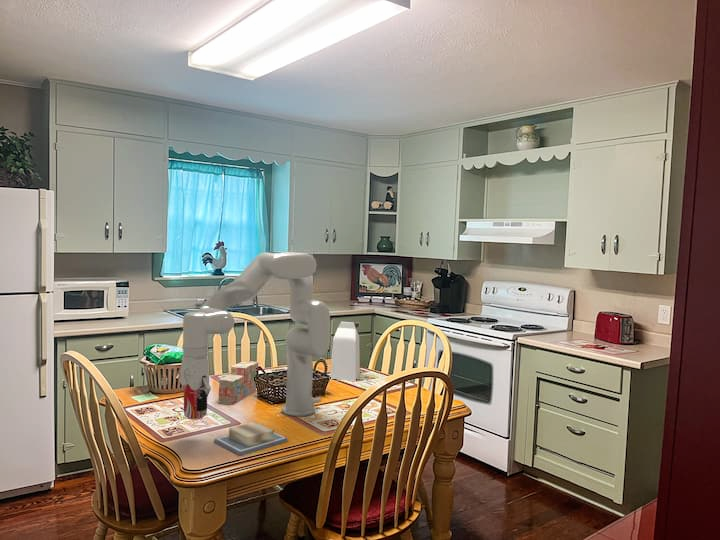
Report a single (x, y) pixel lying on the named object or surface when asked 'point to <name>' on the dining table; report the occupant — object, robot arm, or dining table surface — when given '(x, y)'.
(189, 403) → the soda can
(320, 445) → the dining table surface
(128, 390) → the dining table surface
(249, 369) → the stack of blocks
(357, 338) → the milk
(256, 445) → the butter dish
